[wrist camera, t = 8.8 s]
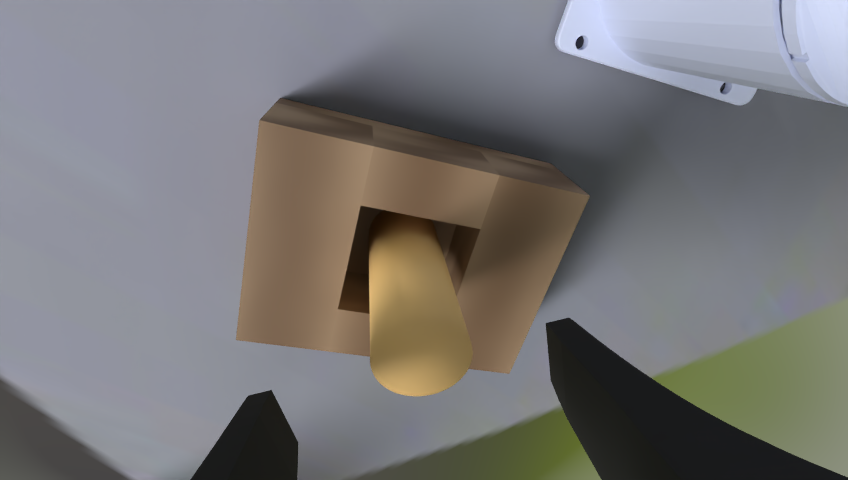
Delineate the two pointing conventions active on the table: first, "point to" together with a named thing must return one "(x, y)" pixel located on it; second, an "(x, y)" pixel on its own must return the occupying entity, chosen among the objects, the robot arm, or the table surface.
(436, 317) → the ochre peg
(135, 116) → the table surface
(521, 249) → the walnut socket block
